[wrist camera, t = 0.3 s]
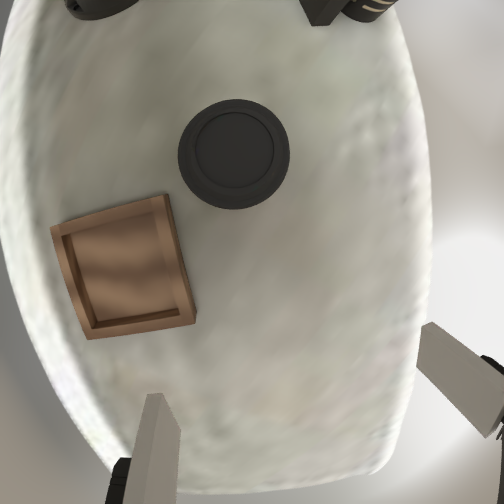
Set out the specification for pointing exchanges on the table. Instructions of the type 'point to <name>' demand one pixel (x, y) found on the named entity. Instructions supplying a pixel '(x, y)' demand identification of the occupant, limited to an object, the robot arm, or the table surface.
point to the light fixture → (344, 10)
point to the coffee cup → (234, 154)
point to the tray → (125, 269)
